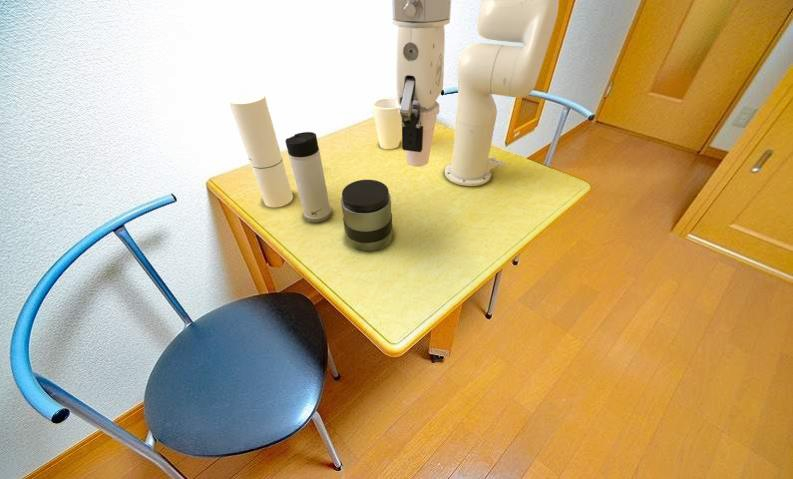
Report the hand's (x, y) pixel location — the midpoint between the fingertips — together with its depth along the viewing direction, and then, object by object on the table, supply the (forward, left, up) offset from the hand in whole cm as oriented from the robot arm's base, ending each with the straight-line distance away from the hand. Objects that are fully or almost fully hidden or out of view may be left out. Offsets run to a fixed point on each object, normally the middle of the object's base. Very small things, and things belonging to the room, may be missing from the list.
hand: (417, 140), depth 54 cm
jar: (+9, -4, -23) cm, 26 cm away
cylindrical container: (+30, -23, -24) cm, 45 cm away
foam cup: (-3, -47, -24) cm, 53 cm away
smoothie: (0, 0, -4) cm, 4 cm away
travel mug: (+20, -14, -24) cm, 34 cm away
